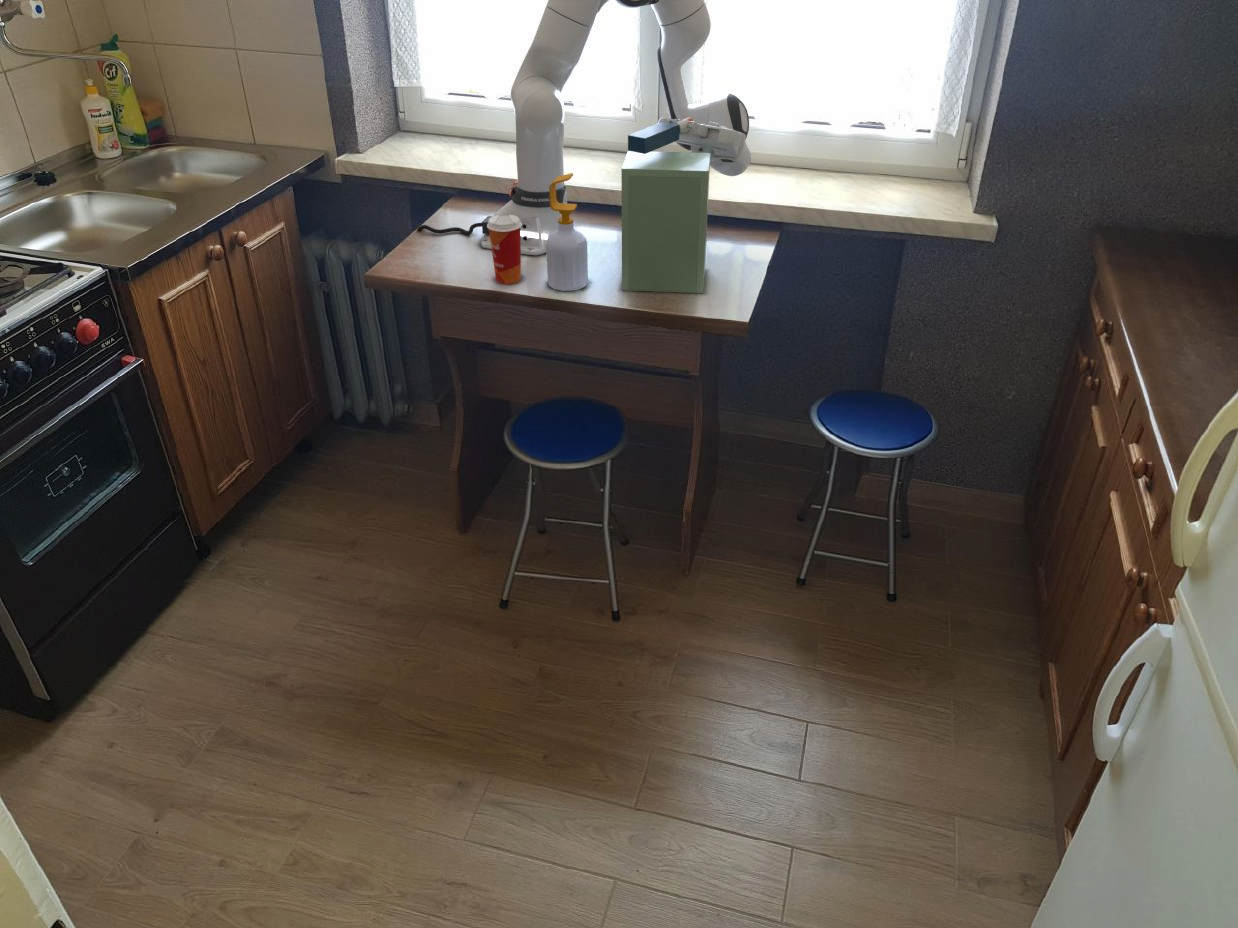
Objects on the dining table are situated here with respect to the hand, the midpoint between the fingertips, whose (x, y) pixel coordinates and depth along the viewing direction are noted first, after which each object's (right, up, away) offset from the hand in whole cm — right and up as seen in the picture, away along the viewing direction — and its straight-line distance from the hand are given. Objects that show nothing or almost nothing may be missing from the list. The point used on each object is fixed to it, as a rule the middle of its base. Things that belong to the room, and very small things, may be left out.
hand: (683, 123), depth 210 cm
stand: (-4, -33, +7) cm, 34 cm away
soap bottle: (-26, -34, +6) cm, 43 cm away
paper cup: (-39, -33, +8) cm, 52 cm away
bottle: (-4, -5, -4) cm, 8 cm away
